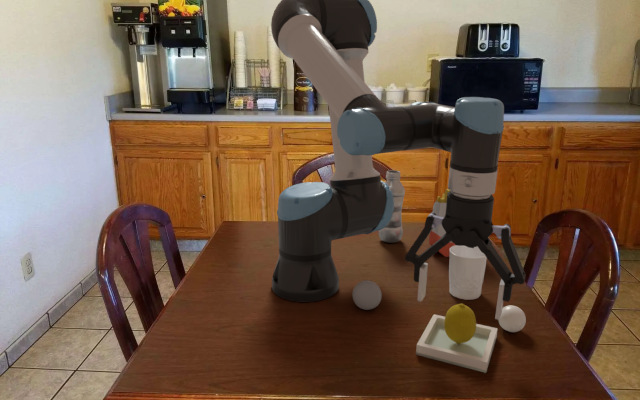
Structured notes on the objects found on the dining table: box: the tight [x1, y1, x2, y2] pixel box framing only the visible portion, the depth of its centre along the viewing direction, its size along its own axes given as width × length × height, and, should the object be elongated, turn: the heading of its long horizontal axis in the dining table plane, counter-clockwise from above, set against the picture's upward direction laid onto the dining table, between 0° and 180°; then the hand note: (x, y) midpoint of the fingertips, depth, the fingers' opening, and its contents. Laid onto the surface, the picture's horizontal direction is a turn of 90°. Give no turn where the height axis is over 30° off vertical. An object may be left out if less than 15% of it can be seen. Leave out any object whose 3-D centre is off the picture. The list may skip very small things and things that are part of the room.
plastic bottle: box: [378, 169, 406, 243], centre depth 141 cm, size 6×7×20 cm
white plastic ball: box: [497, 304, 527, 333], centre depth 97 cm, size 5×5×5 cm
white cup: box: [448, 245, 488, 301], centre depth 112 cm, size 8×8×10 cm
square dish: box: [415, 314, 498, 374], centre depth 93 cm, size 12×12×2 cm
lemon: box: [444, 302, 477, 344], centre depth 92 cm, size 6×6×8 cm
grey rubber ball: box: [351, 279, 383, 311], centre depth 106 cm, size 6×6×6 cm
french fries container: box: [428, 188, 455, 258], centre depth 133 cm, size 5×11×18 cm, turn 107°
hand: (458, 306), depth 91 cm, fingers open, 13 cm apart
